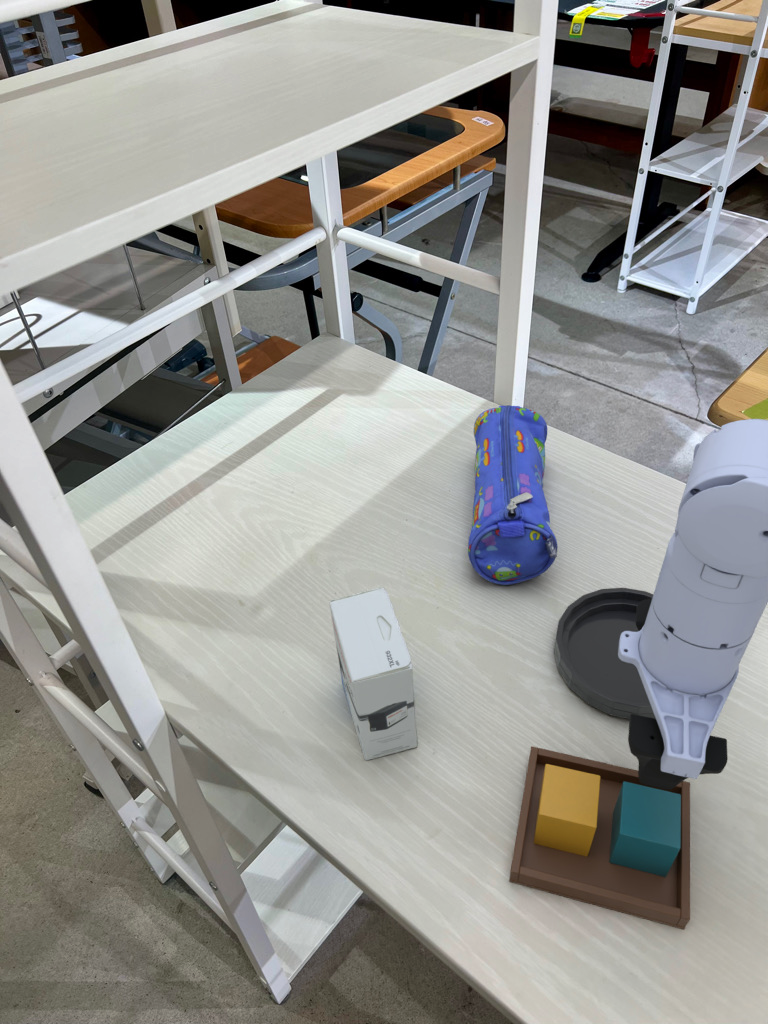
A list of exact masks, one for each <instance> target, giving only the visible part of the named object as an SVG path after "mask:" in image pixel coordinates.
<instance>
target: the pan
mask: <svg viewBox="0 0 768 1024" xmlns="http://www.w3.org/2000/svg"><path fill="white" fill-rule="evenodd" d="M653 594H654V593H651V592H649V591H646V590H641V589H640V590H638V589H636V588H635V589H634V588H628V587H612V588H611V587H609V588H601V589H598V590H595V591H592V592H591V591H590V592H589V593H586V594H583V595H581V596H580V597H579V598H577V599H575V600H574V601H573V602H571V603H570V604H568V605H567V607H566V609H565V610H564V612H563V614H562V615H561V617H560V618H559V620H558V623H557V630H556V635H555V642H554V648H553V654H554V657H555V662H556V666H557V669H558V673H559V674H560V675H561V677H562V678H563V680H564V681H565V684H566V685H567V686H568V687H569V689H570V690H571V691H572V692H574V693H575V694H576V695H577V696H578V697H579V698H580V699H582V700H583V701H584V702H585V703H586V704H588V705H589V706H591V707H593V708H595V709H597V710H599V711H601V712H603V713H605V714H607V715H609V716H612V717H613V716H614V717H618V718H622V719H628V720H630V714H635V715H640V716H645V717H649V718H654V719H656V718H655V715H654V712H653V710H652V707H651V704H650V701H649V699H648V696H647V693H646V691H645V688H644V685H643V683H642V680H641V677H640V675H639V672H638V669H637V667H636V666H635V665H634V664H631V663H627V662H624V661H622V660H621V659H620V658H619V656H618V648H619V639H620V635H621V633H622V632H624V631H632V632H638V631H639V630H638V628H637V626H636V612H637V606H638V604H639V603H640V602H641V601H643V600H648V599H649V600H652V598H653Z"/></svg>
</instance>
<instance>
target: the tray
mask: <svg viewBox="0 0 768 1024" xmlns="http://www.w3.org/2000/svg"><path fill="white" fill-rule="evenodd" d="M546 764H550V765H554V766H559V767H563V768H568V769H572V770H577V771H581V772H586V773H590V774H595V775H599V776H600V790H599V803H598V816H597V828H596V831H595V834H594V837H593V841H592V844H591V847H590V850H589V854H588V856H587V857H586V856H582V855H578V854H574V853H570V852H566V851H562V850H558V849H554V848H550V847H546V846H542V845H538V844H534V835H535V828H536V821H537V813H538V806H539V799H540V792H541V786H542V781H543V775H544V770H545V765H546ZM623 781H625V782H629V783H633V784H638V785H642V786H646V787H651V788H655V789H659V790H664V791H668V792H672V793H676V794H680V795H681V839H680V850H679V852H678V854H677V856H676V858H675V860H674V862H673V864H672V866H671V868H670V870H669V872H668V874H667V876H666V877H663V876H659V875H655V874H651V873H647V872H644V871H640V870H636V869H632V868H628V867H624V866H620V865H617V864H613V863H610V862H609V859H610V846H611V832H612V819H613V811H614V808H615V805H616V802H617V799H618V796H619V793H620V790H621V787H622V784H623ZM508 882H510V883H514V884H517V885H520V886H524V887H528V888H532V889H535V890H538V891H543V892H547V893H549V894H553V895H557V896H561V897H563V898H567V899H572V900H575V901H578V902H582V903H586V904H590V905H593V906H597V907H601V908H605V909H609V910H611V911H616V912H618V913H623V914H626V915H629V916H633V917H637V918H640V919H644V920H648V921H652V922H655V923H659V924H663V925H666V926H670V927H673V928H677V929H680V930H685V929H686V927H687V926H688V924H689V922H690V920H691V782H689V781H686V780H684V781H682V782H681V783H679V784H678V785H677V786H675V787H674V788H672V789H670V790H667V789H662V788H658V787H654V786H650V785H645V784H641V782H640V781H639V776H638V769H634V768H633V769H632V768H628V767H624V766H620V765H617V764H610V763H606V762H603V761H597V760H593V759H589V758H586V757H585V758H584V757H580V756H576V755H572V754H567V753H562V752H558V751H554V750H550V749H545V748H542V747H538V746H537V747H536V746H530V752H529V758H528V764H527V771H526V775H525V783H524V788H523V793H522V800H521V805H520V812H519V817H518V824H517V830H516V835H515V842H514V849H513V854H512V860H511V867H510V873H509V880H508Z"/></svg>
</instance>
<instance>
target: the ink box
mask: <svg viewBox="0 0 768 1024" xmlns="http://www.w3.org/2000/svg"><path fill="white" fill-rule="evenodd" d="M328 603H329V611H330V617H331V622H332V628H333V629H332V630H333V634H334V641H335V647H336V653H337V659H338V664H339V665H338V666H339V672H340V677H341V684H342V687H343V690H344V694H345V697H346V701H347V704H348V707H349V711H350V715H351V719H352V722H353V725H354V728H355V731H356V735H357V738H358V742H359V745H360V749H361V752H362V756H363V758H364V760H365V761H370V760H373V759H377V758H381V757H385V756H388V755H392V754H396V753H400V752H404V751H407V750H409V749H414V748H417V747H418V744H419V743H418V733H417V731H418V730H417V718H416V716H417V715H416V705H415V704H416V703H415V687H414V673H413V664H412V658H411V655H410V652H409V649H408V646H407V643H406V640H405V638H404V635H403V633H402V629H401V626H400V623H399V621H398V618H397V616H396V613H395V610H394V607H393V604H392V601H391V598H390V595H389V592H388V591H387V590H385V588H384V587H381V586H380V587H376V588H372V589H368V590H364V591H360V592H357V593H353V594H349V595H345V596H342V597H338V598H334V599H331V600H329V602H328Z"/></svg>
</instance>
